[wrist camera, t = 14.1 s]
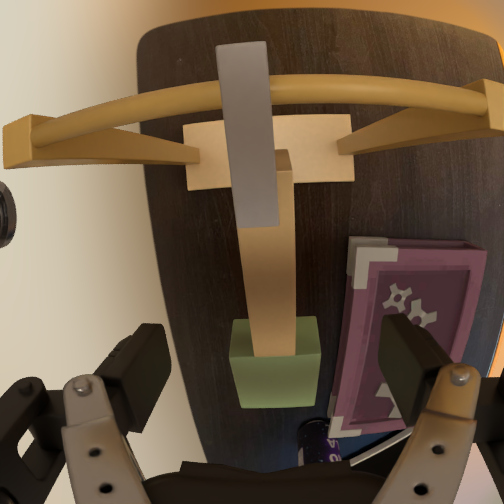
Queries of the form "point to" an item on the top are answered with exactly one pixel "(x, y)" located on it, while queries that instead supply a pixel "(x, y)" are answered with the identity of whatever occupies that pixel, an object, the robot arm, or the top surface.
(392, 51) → the top surface
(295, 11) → the top surface
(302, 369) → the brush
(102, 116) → the rack
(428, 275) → the book
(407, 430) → the alarm clock
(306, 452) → the beverage can
